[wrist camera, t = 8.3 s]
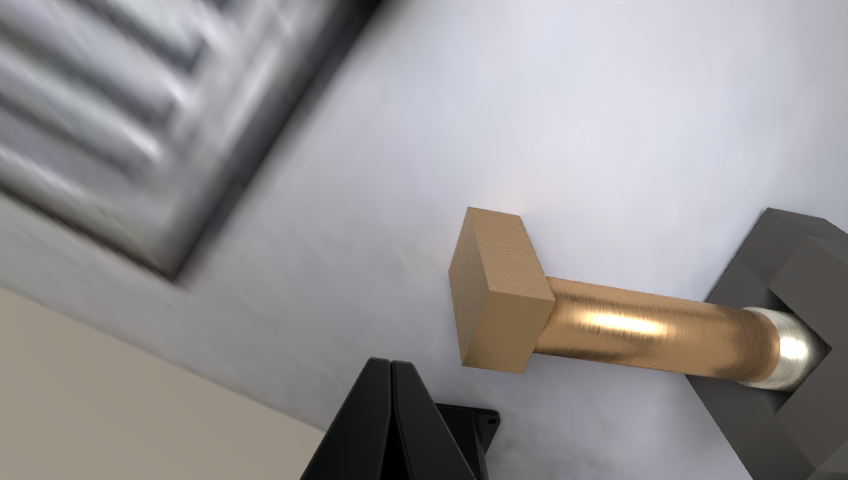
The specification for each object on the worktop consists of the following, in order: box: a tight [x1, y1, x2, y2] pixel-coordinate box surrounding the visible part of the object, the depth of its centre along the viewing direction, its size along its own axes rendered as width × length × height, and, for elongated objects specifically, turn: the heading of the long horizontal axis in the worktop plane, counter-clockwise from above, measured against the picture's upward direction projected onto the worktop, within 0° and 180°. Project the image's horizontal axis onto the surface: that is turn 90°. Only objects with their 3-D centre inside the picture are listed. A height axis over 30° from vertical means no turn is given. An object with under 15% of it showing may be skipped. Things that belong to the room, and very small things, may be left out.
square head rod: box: [449, 207, 833, 393], centre depth 22 cm, size 20×4×6 cm, turn 77°
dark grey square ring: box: [685, 208, 848, 480], centre depth 21 cm, size 3×9×9 cm, turn 167°
